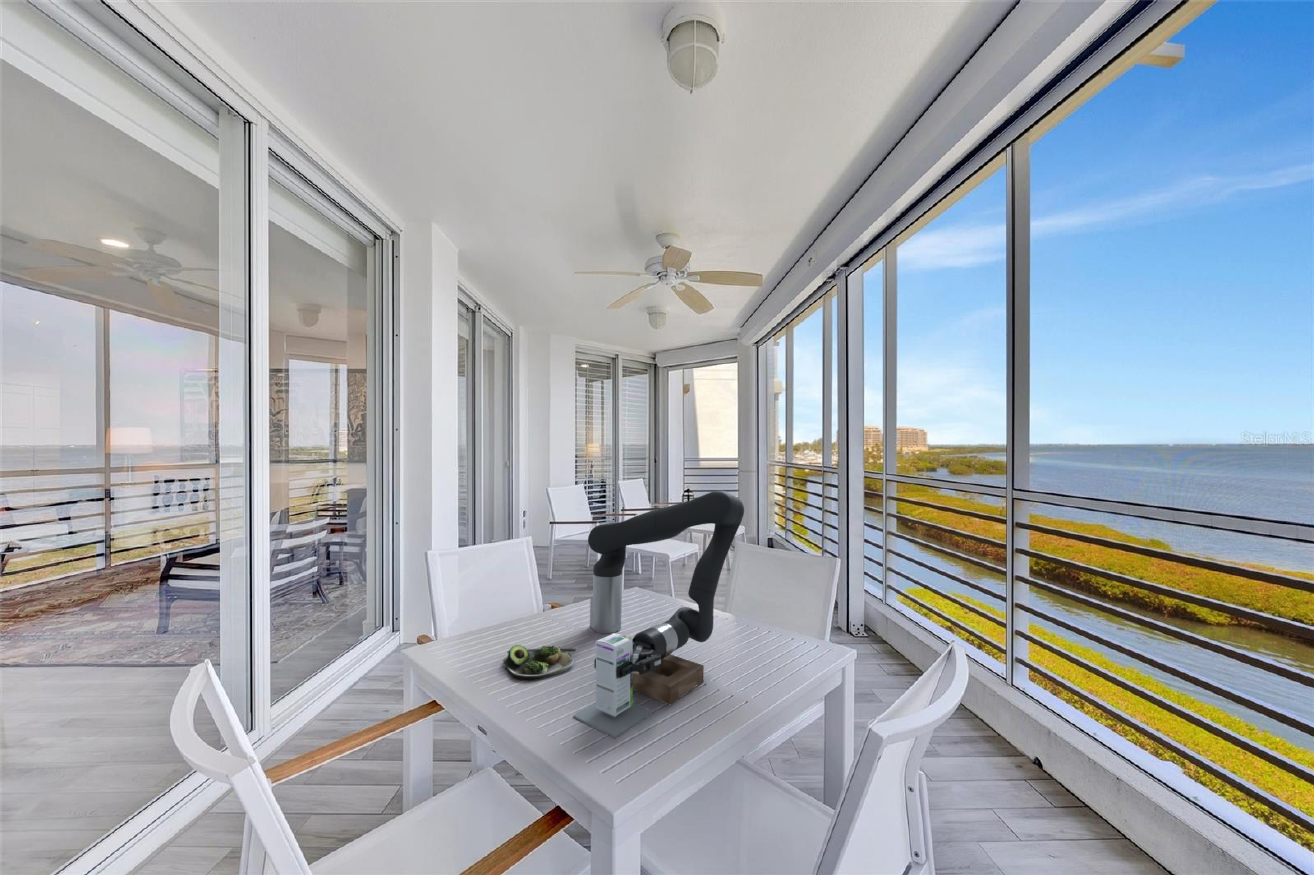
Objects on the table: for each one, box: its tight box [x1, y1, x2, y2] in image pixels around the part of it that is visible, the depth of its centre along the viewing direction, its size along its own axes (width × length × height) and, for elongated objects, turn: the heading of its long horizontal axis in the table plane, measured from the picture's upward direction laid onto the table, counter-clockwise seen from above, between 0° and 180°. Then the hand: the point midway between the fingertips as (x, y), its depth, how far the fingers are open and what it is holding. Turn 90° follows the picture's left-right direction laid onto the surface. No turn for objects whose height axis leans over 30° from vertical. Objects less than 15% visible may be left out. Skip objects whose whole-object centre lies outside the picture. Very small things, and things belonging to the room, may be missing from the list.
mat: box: [572, 702, 654, 740], centre depth 102 cm, size 12×12×1 cm
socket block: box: [633, 653, 705, 705], centre depth 116 cm, size 14×14×4 cm
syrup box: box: [595, 632, 634, 717], centre depth 102 cm, size 6×6×14 cm
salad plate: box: [502, 644, 577, 682], centre depth 127 cm, size 19×18×5 cm
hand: (606, 668), depth 100 cm, fingers closed on syrup box, 5 cm apart
